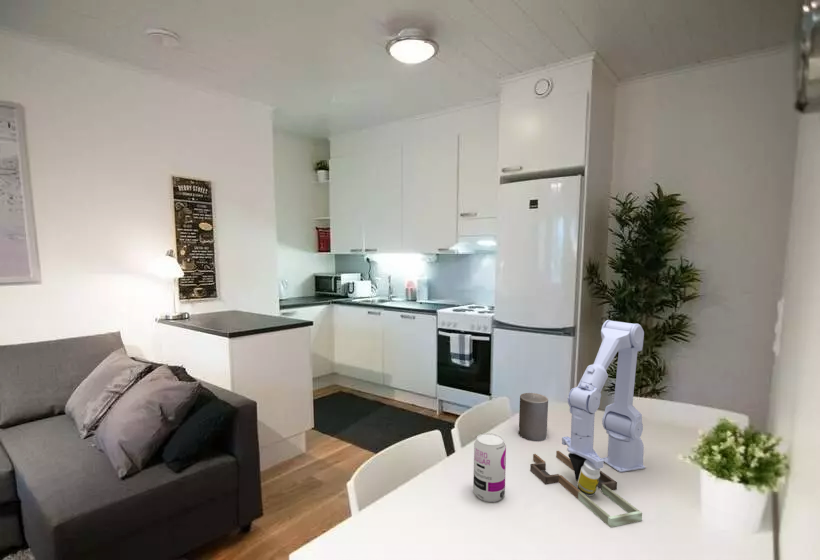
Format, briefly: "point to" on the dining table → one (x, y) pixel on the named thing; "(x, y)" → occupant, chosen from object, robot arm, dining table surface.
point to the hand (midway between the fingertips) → (580, 480)
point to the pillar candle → (533, 416)
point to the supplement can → (489, 467)
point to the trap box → (606, 488)
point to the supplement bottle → (588, 478)
